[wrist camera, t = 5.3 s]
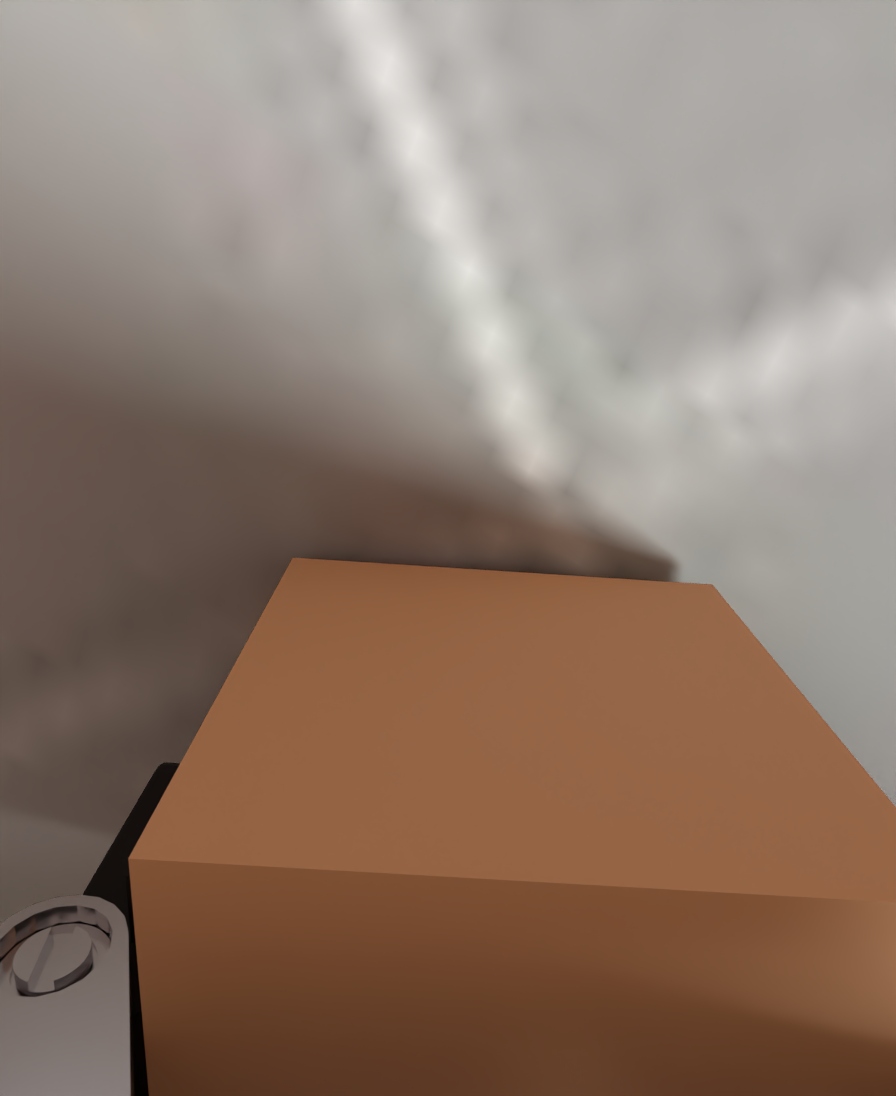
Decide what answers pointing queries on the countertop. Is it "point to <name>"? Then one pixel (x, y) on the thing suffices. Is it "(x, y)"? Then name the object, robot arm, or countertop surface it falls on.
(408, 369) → the countertop surface
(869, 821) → the cube
